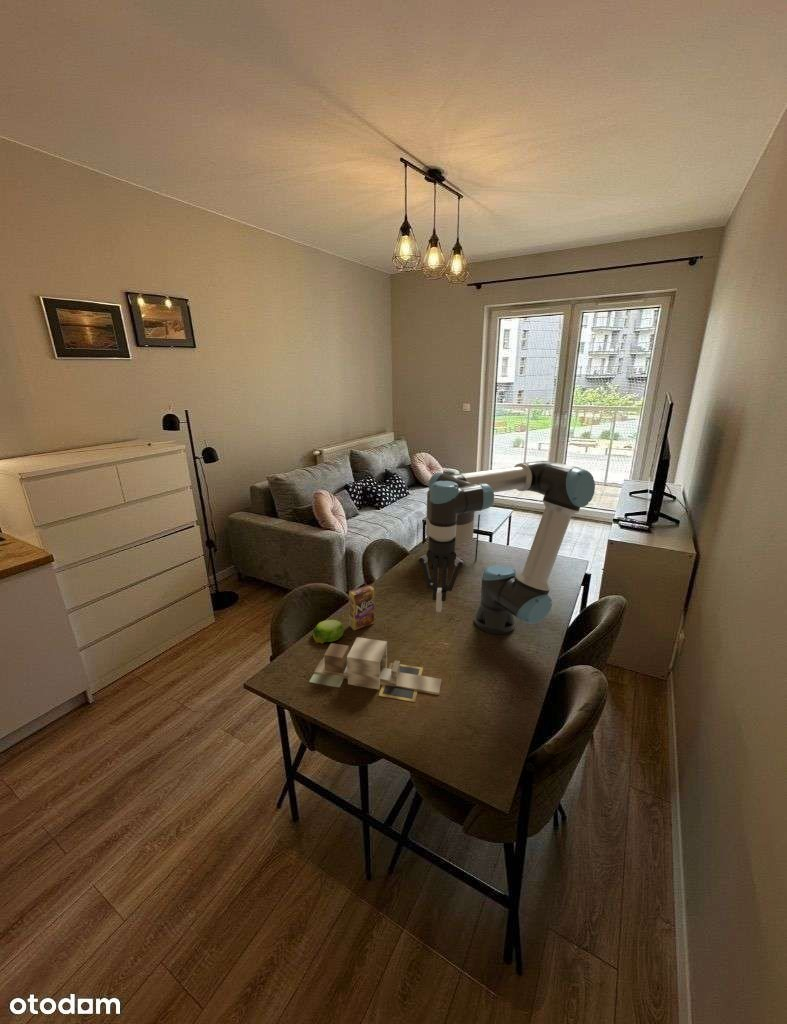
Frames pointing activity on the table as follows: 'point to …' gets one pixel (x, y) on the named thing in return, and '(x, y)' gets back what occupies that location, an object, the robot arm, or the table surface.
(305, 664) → the table surface
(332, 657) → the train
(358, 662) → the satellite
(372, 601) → the candy box
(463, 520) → the planter
